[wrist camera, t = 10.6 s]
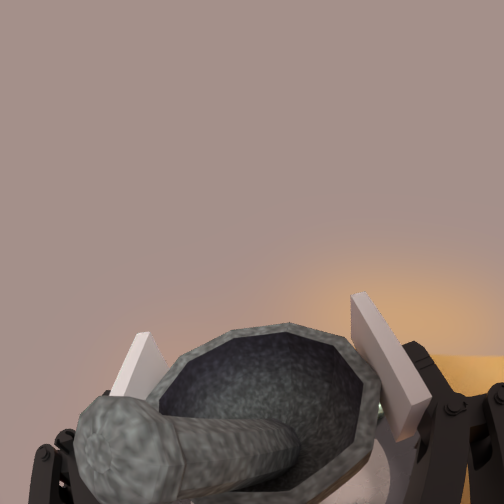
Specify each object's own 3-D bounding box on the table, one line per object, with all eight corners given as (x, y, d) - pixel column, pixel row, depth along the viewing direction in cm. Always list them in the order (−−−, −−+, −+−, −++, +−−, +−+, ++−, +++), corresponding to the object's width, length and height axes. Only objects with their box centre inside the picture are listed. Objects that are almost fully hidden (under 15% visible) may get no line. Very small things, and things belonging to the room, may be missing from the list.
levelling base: (382, 375, 22) (387, 343, 21) (451, 551, 4) (479, 544, 2) (182, 411, 24) (164, 384, 22) (158, 589, 5) (123, 587, 4)
